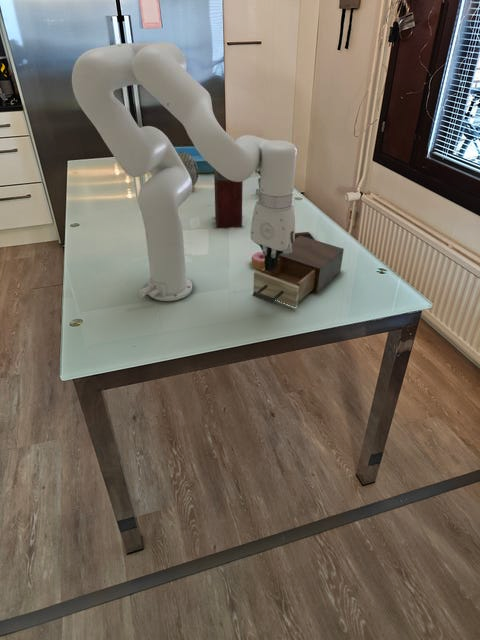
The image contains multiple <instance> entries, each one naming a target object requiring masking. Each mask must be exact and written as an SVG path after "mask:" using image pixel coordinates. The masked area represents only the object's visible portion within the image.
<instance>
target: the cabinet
mask: <svg viewBox="0 0 480 640" xmlns="http://www.w3.org/2000/svg"><path fill="white" fill-rule="evenodd" d="M292 250H293V251H292V252H291V253H290V254H283V253H281V254H280V255H279V256H278V258H282V259H285V260H288V261H291V262H294V263H297V264H300V265H303V266H306V267H309V268H312V269H315V270H317V278H316V287H315V288H314V289H313V290H312V291H310V292H309V293H314V294H316V295H318V294H319V293H320V292H321V291H322V290H323V289H325V287H326V286H328V285H329V284H330V283H331V282H332V281H333V280H334V279H335V278H336V277H338V276H339V275H340V274H341V270H342V264H343V256H344V250H345V249H344V247H339V246H336V245H333V244H330V243H327V242H323V241H319V240H316V239H315V240H313V239H310V238H306V237H303V236H299V237H297V238H296V239H294V243H293V245H292Z"/></svg>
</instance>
